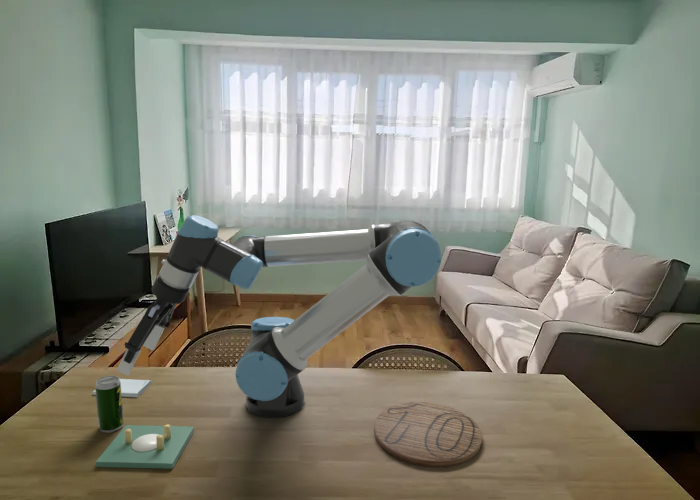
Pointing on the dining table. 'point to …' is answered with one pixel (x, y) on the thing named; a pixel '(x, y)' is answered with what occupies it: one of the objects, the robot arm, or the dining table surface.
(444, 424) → the trivet
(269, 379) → the robot arm
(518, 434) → the dining table surface
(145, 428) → the board
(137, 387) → the hard drive
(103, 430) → the beer can
